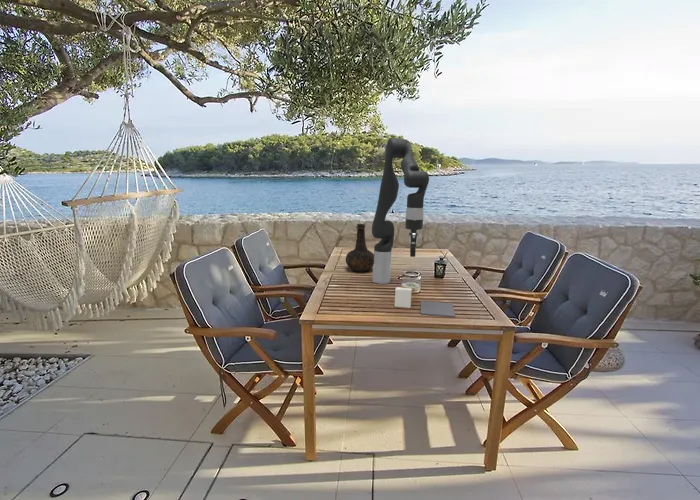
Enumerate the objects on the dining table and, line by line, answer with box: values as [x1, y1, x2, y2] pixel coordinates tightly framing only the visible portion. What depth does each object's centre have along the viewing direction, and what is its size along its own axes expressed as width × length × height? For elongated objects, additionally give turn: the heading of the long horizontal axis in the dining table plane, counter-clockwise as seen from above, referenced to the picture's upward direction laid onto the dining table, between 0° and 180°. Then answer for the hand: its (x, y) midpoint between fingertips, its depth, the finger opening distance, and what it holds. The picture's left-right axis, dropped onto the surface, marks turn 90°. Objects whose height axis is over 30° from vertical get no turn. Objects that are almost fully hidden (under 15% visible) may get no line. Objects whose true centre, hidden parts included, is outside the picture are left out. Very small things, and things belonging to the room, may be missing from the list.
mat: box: [420, 300, 456, 318], centre depth 170 cm, size 14×16×1 cm
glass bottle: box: [345, 223, 374, 273], centre depth 231 cm, size 18×18×28 cm
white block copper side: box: [394, 286, 413, 309], centre depth 173 cm, size 7×4×8 cm, turn 80°
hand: (412, 254), depth 171 cm, fingers open, 8 cm apart
